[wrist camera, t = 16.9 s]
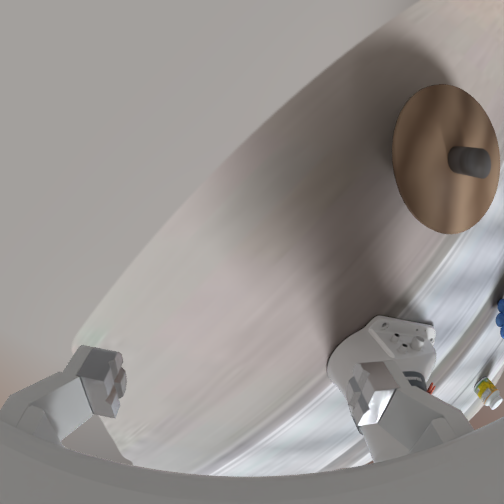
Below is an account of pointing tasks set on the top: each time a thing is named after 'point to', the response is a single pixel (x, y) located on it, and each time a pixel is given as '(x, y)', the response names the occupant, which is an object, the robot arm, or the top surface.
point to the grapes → (501, 317)
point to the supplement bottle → (488, 393)
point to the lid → (445, 158)
